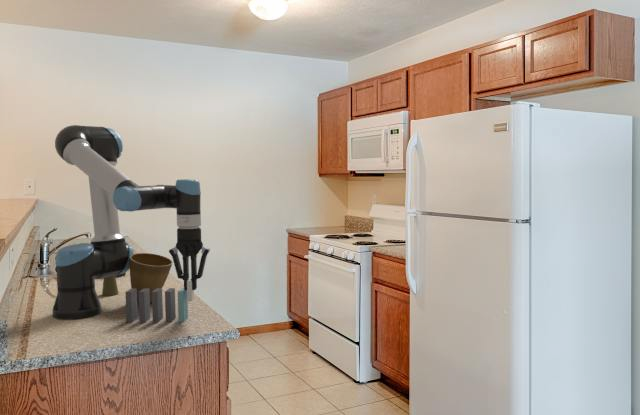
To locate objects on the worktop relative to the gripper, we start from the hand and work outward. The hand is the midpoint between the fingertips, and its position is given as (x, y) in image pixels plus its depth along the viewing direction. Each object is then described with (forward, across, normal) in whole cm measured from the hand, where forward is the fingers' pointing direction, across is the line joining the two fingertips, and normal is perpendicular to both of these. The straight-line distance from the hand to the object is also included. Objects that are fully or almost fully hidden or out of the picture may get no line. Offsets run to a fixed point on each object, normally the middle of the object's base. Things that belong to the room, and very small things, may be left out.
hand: (190, 299), depth 170 cm
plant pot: (+6, -23, +23) cm, 33 cm away
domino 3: (+7, -11, 0) cm, 13 cm away
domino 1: (+7, -19, 0) cm, 20 cm away
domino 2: (+7, -15, 0) cm, 16 cm away
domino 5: (+7, -2, 0) cm, 7 cm away
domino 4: (+7, -7, 0) cm, 9 cm away
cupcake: (+7, -53, +74) cm, 91 cm away
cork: (+7, -41, +37) cm, 56 cm away
